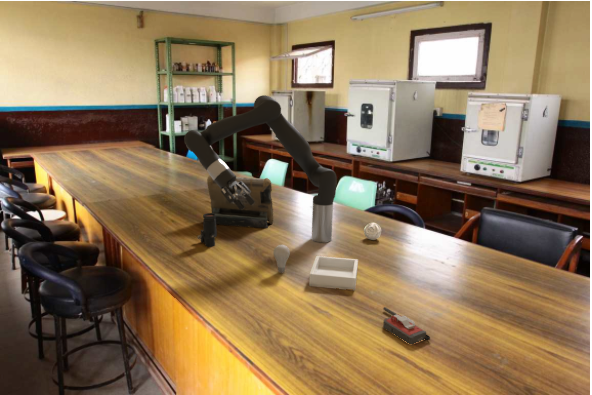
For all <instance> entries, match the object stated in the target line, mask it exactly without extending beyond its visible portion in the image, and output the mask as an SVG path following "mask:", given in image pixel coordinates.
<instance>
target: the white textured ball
mask: <svg viewBox="0 0 592 395" xmlns="http://www.w3.org/2000/svg"><path fill="white" fill-rule="evenodd" d="M363 233H364V236H365V237H366V239H368V240H370V241H371V240H372V241H375V240H377V239H379V238H380V236H381V233H382V228H381V226H380V225H379V224H378V223H376V222H370V223H368V224H366V226H365V227H364V229H363Z"/></svg>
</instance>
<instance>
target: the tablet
mask: <svg viewBox="0 0 592 395" xmlns="http://www.w3.org/2000/svg"><path fill="white" fill-rule="evenodd" d="M235 180H236V182H238V183H239V182H240V181H242V182H243V183H244V184H245V185H246V186H247V187H248V189H249V190H250V191H251V192H250V194H249V195H250V196H251V197H252V198H253V199H254V201H255V203H254V204H253V205H250V204H249V203H248V201H247V200H246V199H245V198H244V197H243V196H239V195H238V200H240V201H241V202H242V203H243V204H244V206H245V208H244V209H243V210H240V209H239V208H238V207H237V205H236V204H235V203H232V202H231V203H229V202H228V200H227V199H226V198H225V196H224V195H223V194H222V193H221V190H222V189H221V188H220V187H219V186H218V185H217V183H216V182H215V181H214V180H213V179H212V177H211V176H210V175H209V174H208V177H207V178H206V184H207V189H208V194H209V199H210V208H211V213H214V214H216V218H215V219H216V225H219V226H230V227H242V228H258V229H260V228H261V229H267V228H269V225H268V223H269V224H270V225H273V223H274V208H273V205H274V204H273V198H272V192H273V189H272V187H273V186H272V181H271V179H270V178H268V177H266V178H254V177H242V176H241V177H240V176H236V179H235ZM245 190H246V189H245ZM246 191H247V190H246ZM243 194H244V193H243ZM244 195H245V194H244ZM229 198H230V197H229Z"/></svg>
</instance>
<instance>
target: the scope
mask: <svg viewBox="0 0 592 395" xmlns="http://www.w3.org/2000/svg"><path fill="white" fill-rule="evenodd" d="M202 218H203V221H202V222H203V223H202V224H203V226H202V227H203V228H202V229H201V230H200V234H199V235H197V239H199V240H200V243H201V244H204V245H205V247H207V248H213V247H215V246H216V240H215V239H216V237H217V236H218V231H217V224H216V219H215V218H216V214H214V213H212V212H211V213H210V212H209V213H207V212H206V213H204V214H203V215H202Z"/></svg>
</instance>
